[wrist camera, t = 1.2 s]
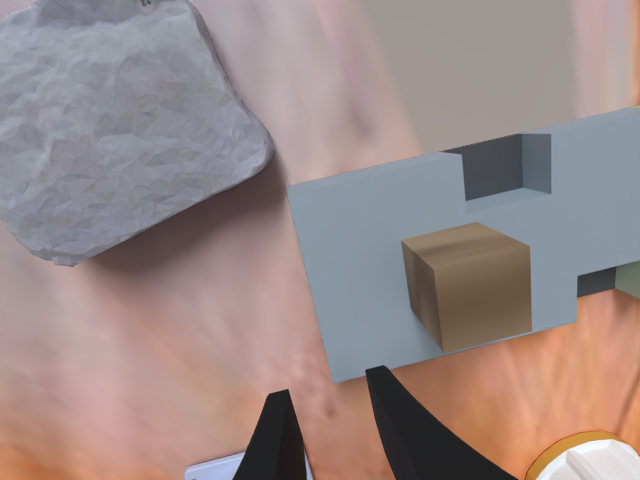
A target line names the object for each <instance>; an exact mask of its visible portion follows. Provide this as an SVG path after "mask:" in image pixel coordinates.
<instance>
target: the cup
mask: <svg viewBox="0 0 640 480" xmlns="http://www.w3.org/2000/svg"><path fill="white" fill-rule="evenodd" d="M525 480H640V457H639V455H638V454H637V453H636V452H635V450H633V449H632V448H631V447H630V446H629V445H628V444H627V443H626V442H625V441H624V440H622V439H621V438H620V437H618V436H616V435H614V434H611V433H608V432H605V431H591V432H583V433H578V434H575V435H572V436H569V437H567V438H564V439H562V440H559V441H558V442H556V443H555V444H554V445H552V446H551V447H549V448H548V449H547V450H546V451H545V452H543V453H542V454H541V455H540V456H539V457H538V458H537V460H536V461H535V462H534V463H533V465H532V466H531V468H530V469H529V470H528V472H527V476H526V479H525Z"/></svg>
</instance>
